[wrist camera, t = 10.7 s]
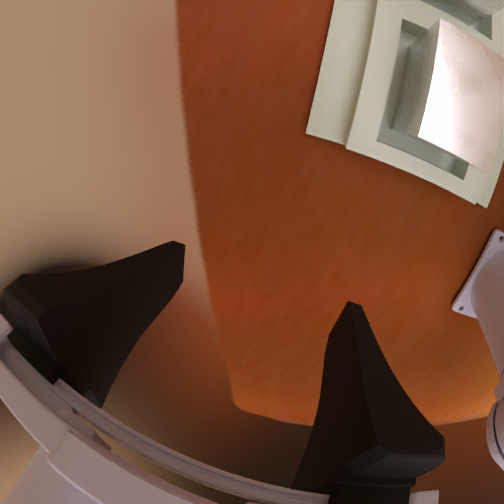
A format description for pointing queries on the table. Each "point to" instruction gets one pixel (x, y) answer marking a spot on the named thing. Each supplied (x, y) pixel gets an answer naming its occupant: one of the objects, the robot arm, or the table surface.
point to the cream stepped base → (391, 90)
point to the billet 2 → (452, 95)
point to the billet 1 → (467, 8)
